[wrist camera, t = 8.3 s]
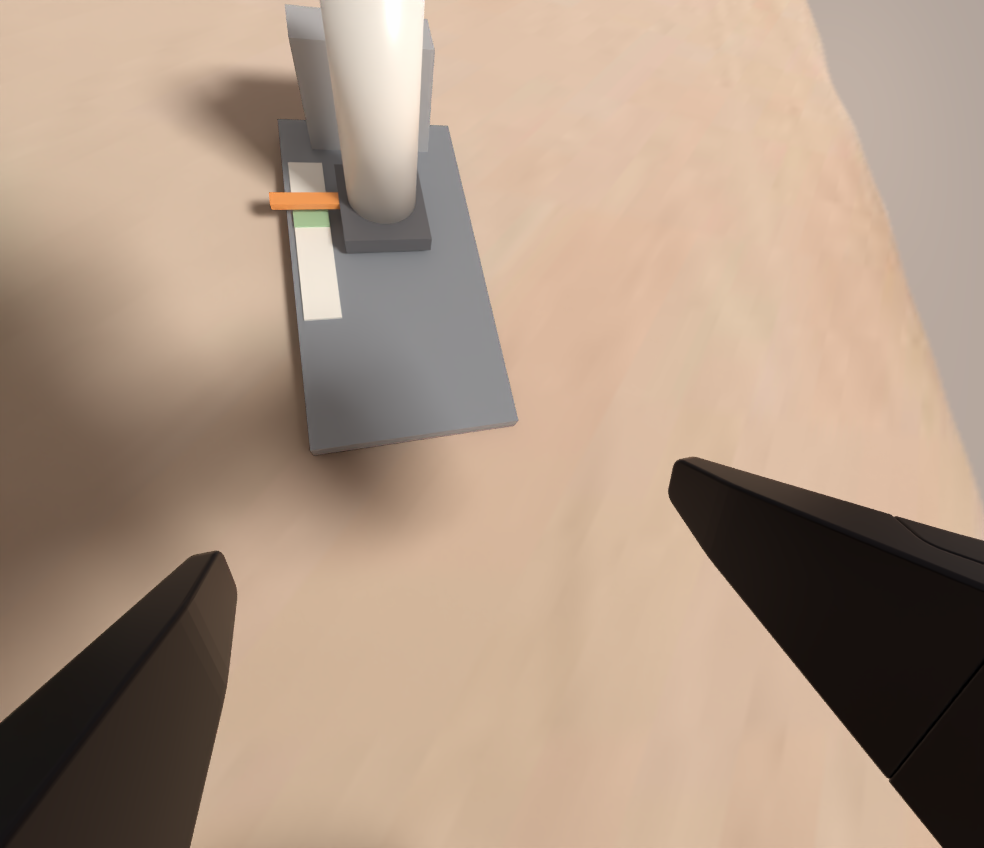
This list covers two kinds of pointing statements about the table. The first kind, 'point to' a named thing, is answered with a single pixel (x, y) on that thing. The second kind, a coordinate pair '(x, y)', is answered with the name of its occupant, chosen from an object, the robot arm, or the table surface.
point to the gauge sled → (374, 125)
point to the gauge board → (386, 287)
